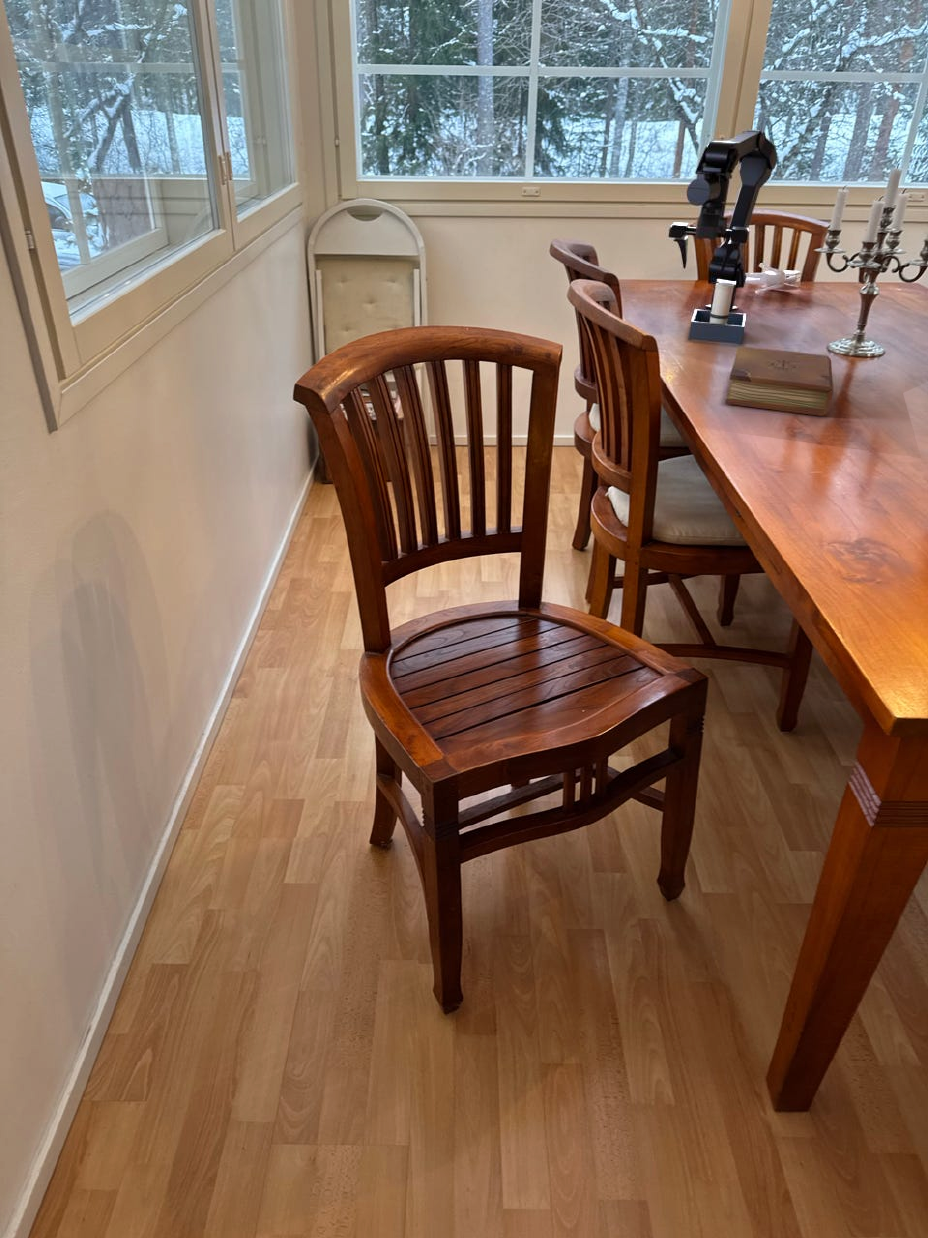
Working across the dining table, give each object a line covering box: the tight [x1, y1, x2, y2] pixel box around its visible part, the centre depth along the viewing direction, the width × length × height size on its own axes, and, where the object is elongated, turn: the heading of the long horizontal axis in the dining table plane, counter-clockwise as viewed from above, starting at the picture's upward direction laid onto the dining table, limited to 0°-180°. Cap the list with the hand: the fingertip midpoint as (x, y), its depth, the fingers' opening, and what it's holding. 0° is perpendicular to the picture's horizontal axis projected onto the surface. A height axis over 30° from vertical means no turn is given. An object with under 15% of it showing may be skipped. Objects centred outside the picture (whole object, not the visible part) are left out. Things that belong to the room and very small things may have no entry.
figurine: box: [735, 262, 802, 296], centre depth 255 cm, size 9×12×20 cm
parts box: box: [687, 308, 747, 345], centre depth 210 cm, size 13×12×5 cm
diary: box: [724, 345, 834, 417], centre depth 174 cm, size 23×19×6 cm
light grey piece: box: [709, 282, 734, 324], centre depth 206 cm, size 4×4×12 cm
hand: (703, 269), depth 218 cm, fingers open, 9 cm apart
